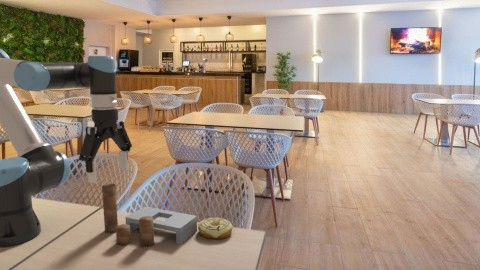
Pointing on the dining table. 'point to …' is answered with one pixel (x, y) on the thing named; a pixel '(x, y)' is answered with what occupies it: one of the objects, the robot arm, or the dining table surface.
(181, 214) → the bridge
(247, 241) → the dining table surface
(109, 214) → the long dowel
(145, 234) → the medium dowel
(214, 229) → the decorated donut
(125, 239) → the short dowel
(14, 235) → the robot arm
